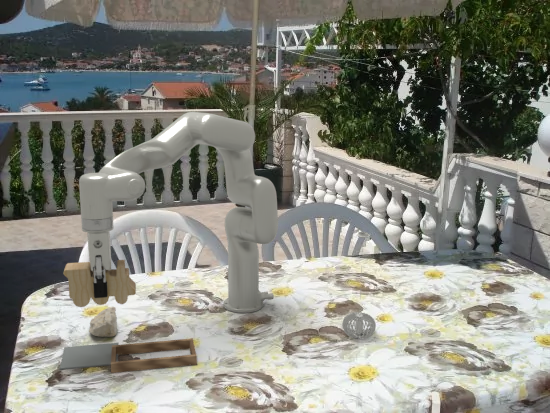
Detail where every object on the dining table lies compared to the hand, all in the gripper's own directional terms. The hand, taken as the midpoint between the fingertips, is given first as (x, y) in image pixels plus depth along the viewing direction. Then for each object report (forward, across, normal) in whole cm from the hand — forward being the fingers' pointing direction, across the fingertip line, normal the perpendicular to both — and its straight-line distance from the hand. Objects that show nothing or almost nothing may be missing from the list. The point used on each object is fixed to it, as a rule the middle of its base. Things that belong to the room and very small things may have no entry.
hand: (101, 292), depth 157 cm
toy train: (+3, 0, 0) cm, 3 cm away
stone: (+18, +16, 0) cm, 24 cm away
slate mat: (+18, +1, +4) cm, 18 cm away
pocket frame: (+18, -4, -12) cm, 22 cm away
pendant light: (+18, -2, -69) cm, 72 cm away
